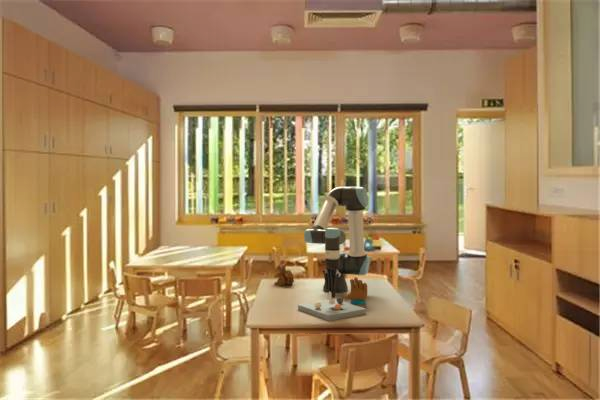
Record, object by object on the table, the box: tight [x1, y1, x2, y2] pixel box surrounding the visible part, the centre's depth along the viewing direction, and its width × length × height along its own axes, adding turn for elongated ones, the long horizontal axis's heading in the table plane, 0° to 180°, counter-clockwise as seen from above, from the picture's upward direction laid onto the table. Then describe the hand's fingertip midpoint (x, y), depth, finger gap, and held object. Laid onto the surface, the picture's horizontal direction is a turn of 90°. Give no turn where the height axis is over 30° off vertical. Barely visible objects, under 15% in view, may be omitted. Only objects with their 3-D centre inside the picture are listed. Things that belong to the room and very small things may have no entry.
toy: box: [344, 276, 368, 305], centre depth 274 cm, size 12×7×15 cm, turn 71°
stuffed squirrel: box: [273, 263, 295, 286], centre depth 326 cm, size 10×14×13 cm
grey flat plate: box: [297, 298, 367, 322], centre depth 257 cm, size 26×24×2 cm
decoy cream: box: [315, 301, 321, 309], centre depth 253 cm, size 4×4×4 cm
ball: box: [334, 304, 341, 310], centre depth 252 cm, size 4×4×4 cm
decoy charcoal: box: [336, 296, 344, 304], centre depth 264 cm, size 4×4×4 cm
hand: (331, 303), depth 256 cm, fingers closed
